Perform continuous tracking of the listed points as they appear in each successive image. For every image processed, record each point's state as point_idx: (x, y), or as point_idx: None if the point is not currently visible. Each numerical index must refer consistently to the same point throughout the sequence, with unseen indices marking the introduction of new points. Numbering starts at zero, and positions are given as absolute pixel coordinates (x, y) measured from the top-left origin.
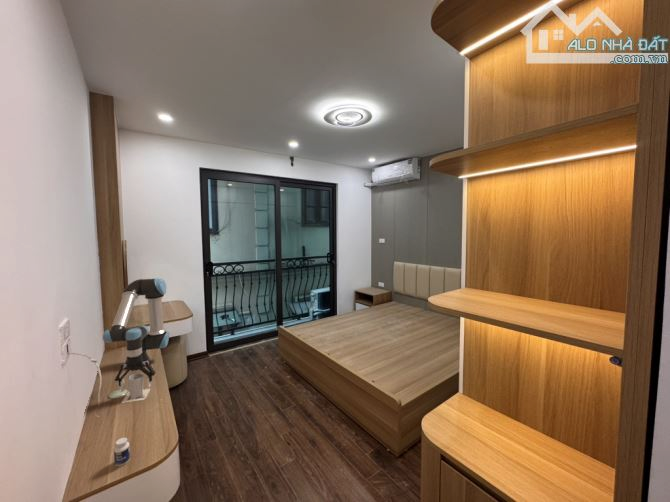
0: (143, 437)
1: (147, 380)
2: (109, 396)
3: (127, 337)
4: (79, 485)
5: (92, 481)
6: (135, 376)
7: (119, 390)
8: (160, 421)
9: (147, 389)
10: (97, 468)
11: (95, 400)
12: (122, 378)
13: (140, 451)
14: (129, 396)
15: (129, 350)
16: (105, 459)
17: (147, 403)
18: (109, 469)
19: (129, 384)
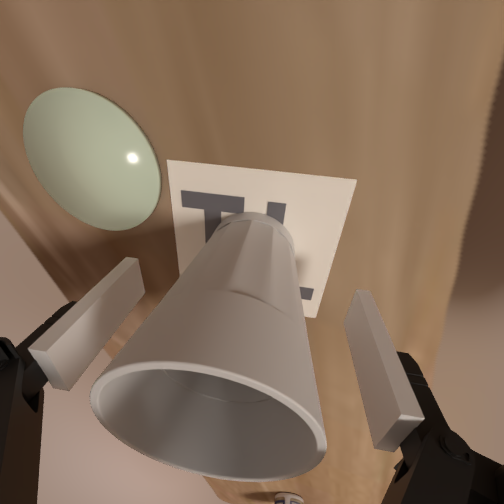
0: (327, 476)
1: (363, 403)
2: (53, 196)
3: None
4: (228, 496)
5: (247, 499)
6: (180, 325)
7: (69, 115)
8: (380, 457)
9: (325, 190)
10: (244, 488)
11: None
12: (37, 434)
13: (323, 496)
14: (204, 244)
15: None
16: (251, 482)
17: (332, 356)
18: (268, 497)
19: (179, 381)
